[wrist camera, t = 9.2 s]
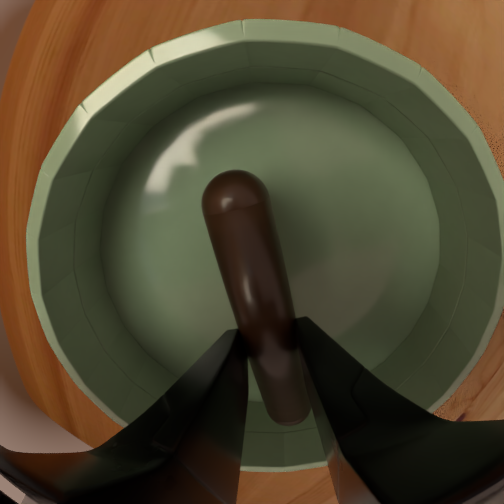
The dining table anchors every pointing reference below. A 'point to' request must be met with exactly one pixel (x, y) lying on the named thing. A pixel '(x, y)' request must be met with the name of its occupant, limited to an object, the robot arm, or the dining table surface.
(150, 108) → the bowl
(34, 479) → the robot arm
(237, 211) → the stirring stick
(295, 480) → the dining table surface
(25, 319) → the dining table surface
